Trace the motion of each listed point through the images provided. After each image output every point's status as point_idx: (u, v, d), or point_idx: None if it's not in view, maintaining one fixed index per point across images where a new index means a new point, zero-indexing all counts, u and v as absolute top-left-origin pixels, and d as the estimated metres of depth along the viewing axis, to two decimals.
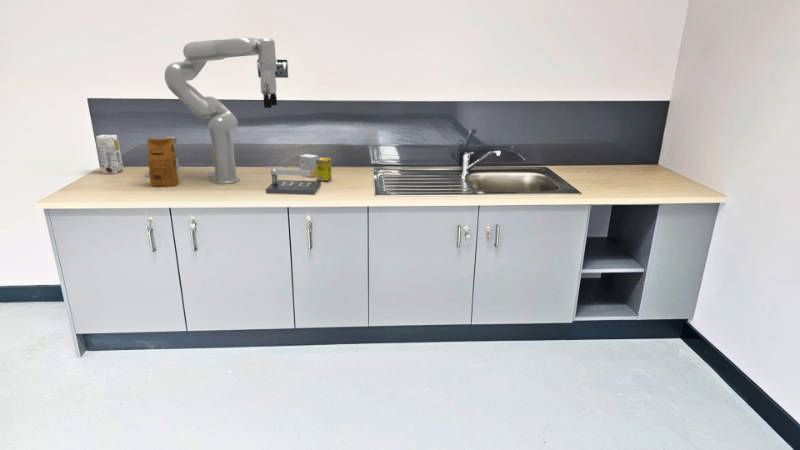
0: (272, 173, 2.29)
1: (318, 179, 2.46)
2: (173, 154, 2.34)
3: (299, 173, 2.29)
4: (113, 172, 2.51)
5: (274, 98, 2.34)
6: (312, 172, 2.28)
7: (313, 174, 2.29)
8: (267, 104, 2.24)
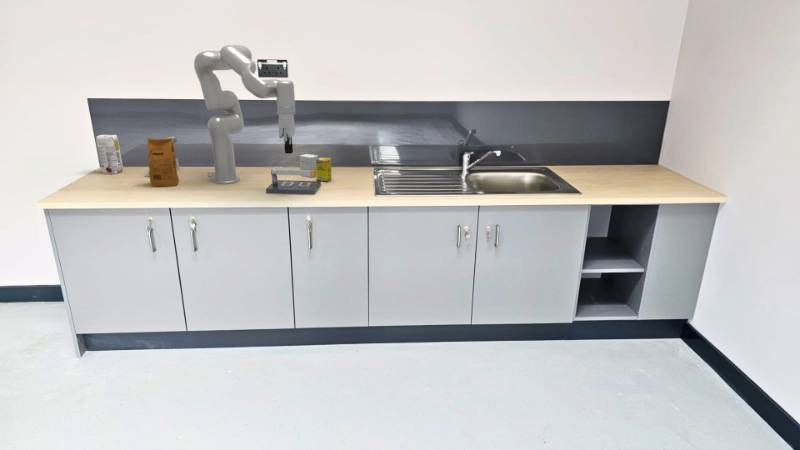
0: (272, 173, 2.29)
1: (318, 179, 2.46)
2: (173, 154, 2.34)
3: (299, 173, 2.29)
4: (113, 172, 2.51)
5: None
6: (312, 172, 2.28)
7: (313, 174, 2.29)
8: (288, 150, 2.18)
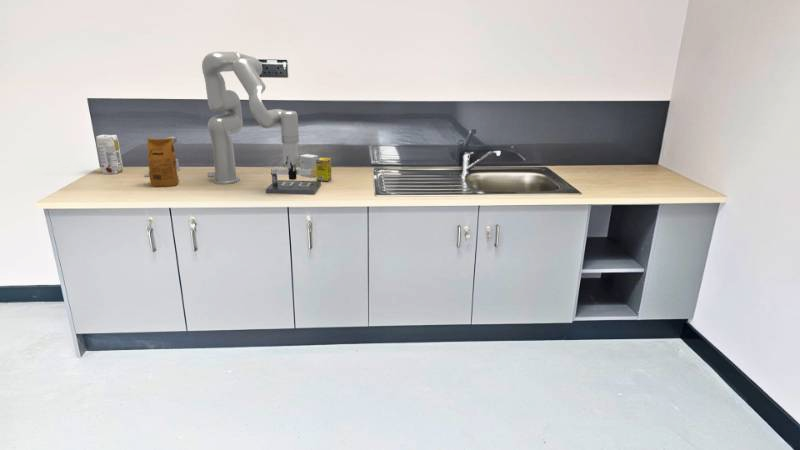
0: (272, 173, 2.29)
1: (318, 179, 2.46)
2: (173, 154, 2.34)
3: (300, 172, 2.30)
4: (113, 172, 2.51)
5: None
6: (313, 171, 2.31)
7: (314, 173, 2.31)
8: (292, 176, 2.27)
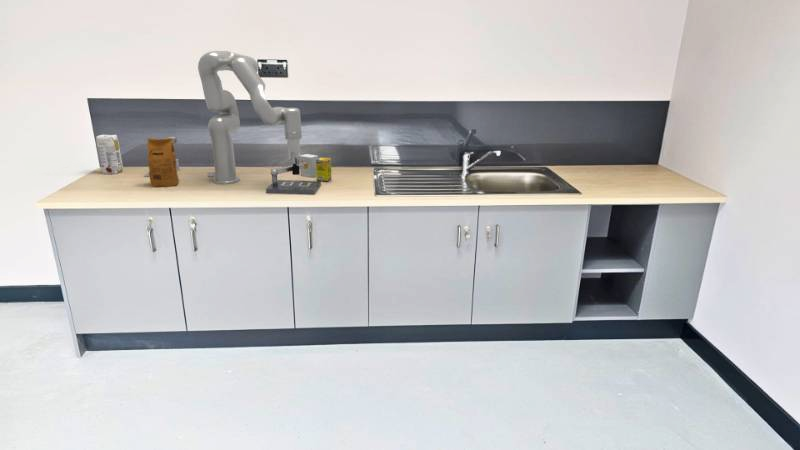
0: (275, 173, 2.29)
1: (318, 179, 2.46)
2: (173, 154, 2.34)
3: None
4: (113, 172, 2.51)
5: None
6: (306, 164, 2.42)
7: (307, 166, 2.43)
8: (295, 171, 2.34)
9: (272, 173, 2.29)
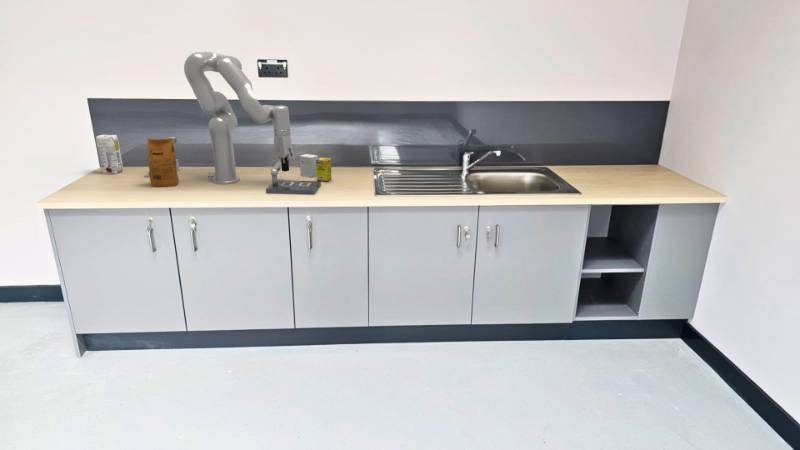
0: (277, 173, 2.30)
1: (318, 179, 2.46)
2: (173, 154, 2.34)
3: None
4: (113, 172, 2.51)
5: None
6: None
7: None
8: (287, 168, 2.39)
9: (274, 173, 2.29)
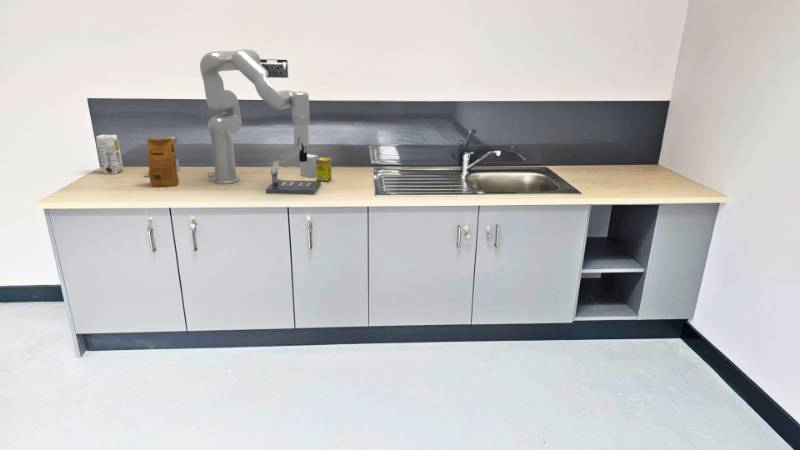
0: (277, 172, 2.30)
1: (318, 179, 2.46)
2: (173, 154, 2.34)
3: (278, 166, 2.42)
4: (113, 172, 2.51)
5: None
6: (279, 161, 2.47)
7: (279, 163, 2.48)
8: (302, 158, 2.26)
9: (275, 173, 2.29)
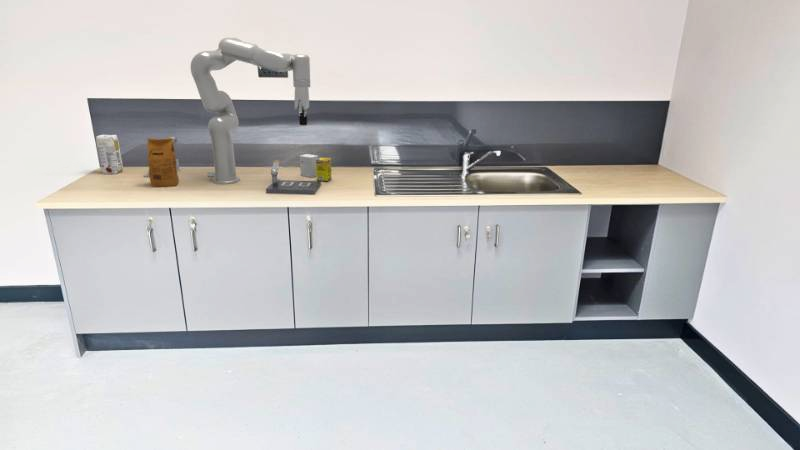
0: (277, 172, 2.30)
1: (318, 179, 2.46)
2: (173, 154, 2.34)
3: (278, 166, 2.42)
4: (113, 172, 2.51)
5: None
6: (279, 161, 2.47)
7: (279, 163, 2.48)
8: (303, 121, 2.28)
9: (275, 173, 2.29)
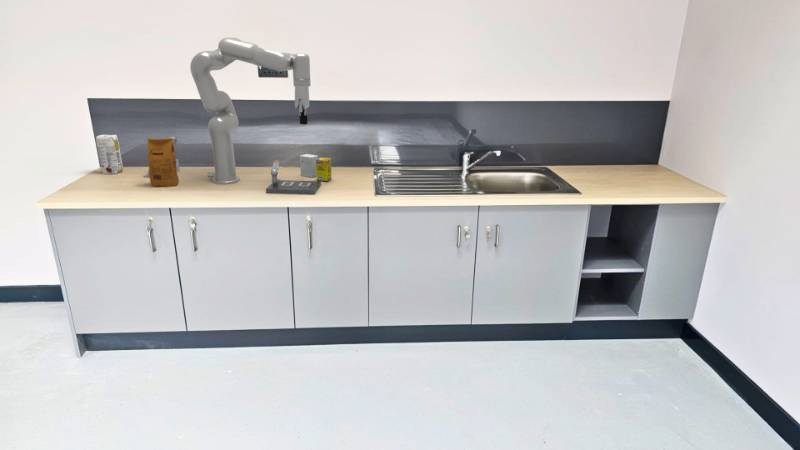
0: (277, 172, 2.30)
1: (318, 179, 2.46)
2: (173, 154, 2.34)
3: (278, 166, 2.42)
4: (113, 172, 2.51)
5: None
6: (279, 161, 2.47)
7: (279, 163, 2.48)
8: (303, 121, 2.28)
9: (275, 173, 2.29)
